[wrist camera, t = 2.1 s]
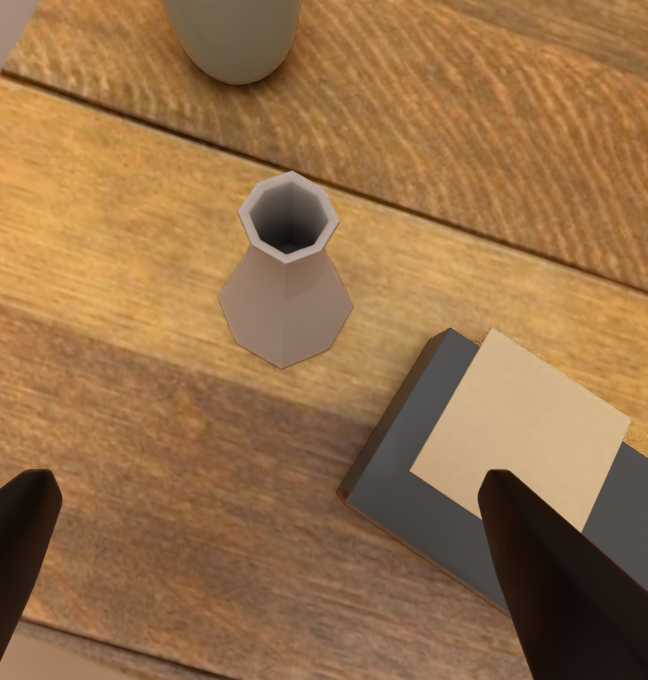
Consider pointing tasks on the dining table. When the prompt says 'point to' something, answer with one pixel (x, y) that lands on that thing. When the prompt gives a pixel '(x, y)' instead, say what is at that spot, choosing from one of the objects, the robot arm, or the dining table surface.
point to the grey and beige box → (497, 458)
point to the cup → (235, 35)
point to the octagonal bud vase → (286, 273)
